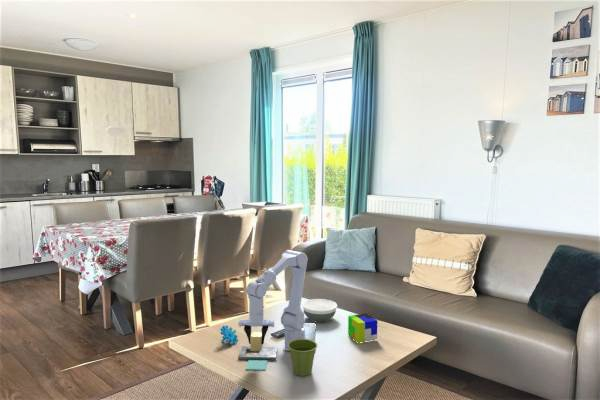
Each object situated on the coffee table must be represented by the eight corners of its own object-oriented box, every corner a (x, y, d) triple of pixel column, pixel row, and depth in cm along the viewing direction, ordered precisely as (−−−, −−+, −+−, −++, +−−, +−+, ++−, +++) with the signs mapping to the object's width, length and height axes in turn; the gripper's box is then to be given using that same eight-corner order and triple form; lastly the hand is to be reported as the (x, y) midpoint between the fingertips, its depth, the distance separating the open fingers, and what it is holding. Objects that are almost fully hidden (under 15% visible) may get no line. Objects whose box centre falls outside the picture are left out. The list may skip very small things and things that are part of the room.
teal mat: (267, 360, 176) (267, 360, 176) (265, 370, 168) (265, 369, 168) (248, 360, 176) (248, 359, 176) (245, 370, 168) (245, 369, 168)
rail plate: (277, 349, 186) (277, 346, 186) (275, 360, 176) (275, 357, 176) (242, 349, 187) (242, 346, 186) (238, 359, 177) (238, 356, 177)
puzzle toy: (376, 340, 196) (377, 320, 195) (358, 344, 193) (358, 323, 192) (366, 332, 206) (366, 313, 205) (348, 335, 202) (348, 315, 201)
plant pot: (323, 371, 167) (323, 344, 166) (303, 382, 159) (304, 354, 158) (301, 361, 175) (301, 336, 174) (281, 372, 167) (281, 345, 165)
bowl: (319, 329, 209) (319, 313, 209) (294, 318, 223) (294, 303, 222) (344, 320, 222) (344, 305, 221) (319, 310, 236) (319, 296, 235)
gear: (230, 345, 187) (218, 327, 190) (222, 353, 188) (210, 334, 191) (243, 339, 197) (231, 321, 200) (235, 346, 198) (223, 329, 201)
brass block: (262, 346, 174) (262, 332, 173) (261, 351, 169) (261, 336, 169) (251, 345, 174) (251, 332, 174) (250, 350, 170) (250, 336, 169)
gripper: (237, 314, 166) (237, 347, 168) (273, 314, 166) (273, 347, 167) (240, 308, 173) (240, 339, 175) (274, 308, 173) (274, 340, 174)
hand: (256, 343), depth 171 cm, fingers closed on brass block, 4 cm apart
